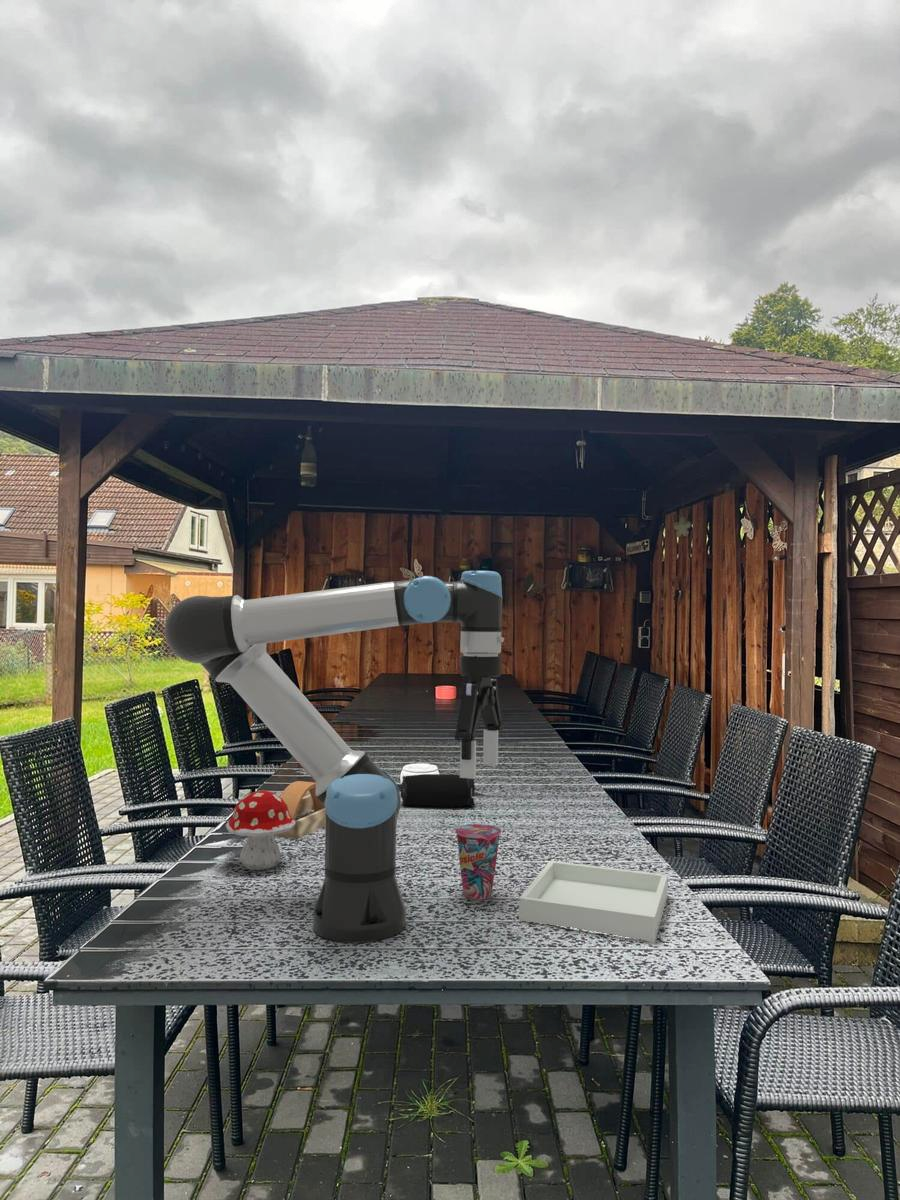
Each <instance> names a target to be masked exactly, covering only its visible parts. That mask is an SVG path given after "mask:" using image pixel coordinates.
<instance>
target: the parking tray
mask: <svg viewBox="0 0 900 1200" xmlns="http://www.w3.org/2000/svg"><path fill="white" fill-rule="evenodd" d="M313 809H314V805H313V800H312V797H311V794H310V792H309V791H308V792H307V793H306V794H305V795H304V797H303V799H302V800H301V802H300V804H299V807H298V809H297V812H296V816H295V818H296V817H298V815H299V816H301V815H303V814H305V813H308V812H310V811H312V810H313ZM294 821H295V826H294V827H293V828H292V829H291V830H290V831H287V832H283V833H280V834H276V835H274V837H281V838H287V839H295V840H299V839H301V838H303V837H304V836H306V835H309V834H311V833H313V832H314V831H318V830H319V829H321V828H323V827H326V811H325V808H324V809H321V810H319V811H317V812H313V813H310V814H308V815H306V816H304V817H301V818H298V819H297V820H296V819H295V820H294Z"/></svg>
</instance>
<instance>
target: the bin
mask: <svg viewBox="0 0 900 1200" xmlns="http://www.w3.org/2000/svg"><path fill="white" fill-rule="evenodd" d="M668 877H669V876H668V874H664V873H663V874H662V873H654V872H646V871H639V870H630V869H629V870H628V869H624V868H623V869H622V868H613V867H604V866H599V865H598V866H597V865H589V864H581V863H573V862H564V861H556V860H549V861H548V863H546V865H545V866H544V867H543V869H542V870H541V871H540V872H539V874H538V875H537V876H536V877H535V878H534V880H532V882H531V883H530V884H529V886H528V887H526V889H525V891H524V892H523V893H522V894H521V895H520V896H519V898H518V921H519V920H520V921H519V922H522V921H526V922H525V923H529V922H535V923H542V924H552V925H558V926H566V927H573V928H579V929H584V930H591V931H596V932H601V933H607V934H612V935H618V936H623V937H629V938H635V939H641V940H646V941H650V942H649V943H651V942H656V939H657V937H656V936H658V932H659V928H660V926H661V922H662V919H663V915H664V912H663V911H665V908H666V903H667V901H666V900H668V895H669V891H668V890H669V889H668V887H669V883H668V882H669V881H668V880H669V879H668ZM664 907H665V908H664ZM661 918H662V919H661ZM535 923H534V924H535ZM542 924H541V925H542ZM659 925H660V926H659Z"/></svg>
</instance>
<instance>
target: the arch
mask: <svg viewBox="0 0 900 1200" xmlns="http://www.w3.org/2000/svg"><path fill="white" fill-rule="evenodd" d="M308 791H309V792H310V794H311V797H312V800H313V805H314V810H313V813H315V812H317V811H319V810H321V809H324V808H325V806H324V804H323V803H322V802H321V801H320V800H319V799H318V798H317V796H316V795H315V793H316V782H315V781H314V782H313V781H303V780H297V781H292V783H290V784H289V785H288V786H286V787H285V789H284V790H283V791H282V792H281V794H280V796H279V797H280V798H282V799H283V801H284V802H285V803H286V805H287V807H288V810H289V814H290V816H291V817H292V819H293V820H296V817H297V816H296V812H297V809H298V807H299V804H300V802H301V800H302V799H303V797H304V795H305V794H306V793H307V792H308ZM295 816H296V817H295Z"/></svg>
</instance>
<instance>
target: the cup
mask: <svg viewBox="0 0 900 1200" xmlns="http://www.w3.org/2000/svg"><path fill="white" fill-rule="evenodd" d="M454 831H455V834H456V838H457V840H456V841H457V849H458V859H459V868H460V877H461V885H462V892H463V893H462V894H463V896H464V897H465V898H467V899H471V900H486V899H487V900H488V899H489V898H491V897H492V895H493V887H494V880H495V874H496V866H497V860H498V859H497V858H498V851H499V841H500V834H501V833H502V829H501V828H499V827H497V826H495V825H489V824H482V823H481V824H479V823H478V824H477V823H475V824H473V823H472V824H471V823H470V824H464V825H460V826H458V827H456V828H455V830H454Z"/></svg>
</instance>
